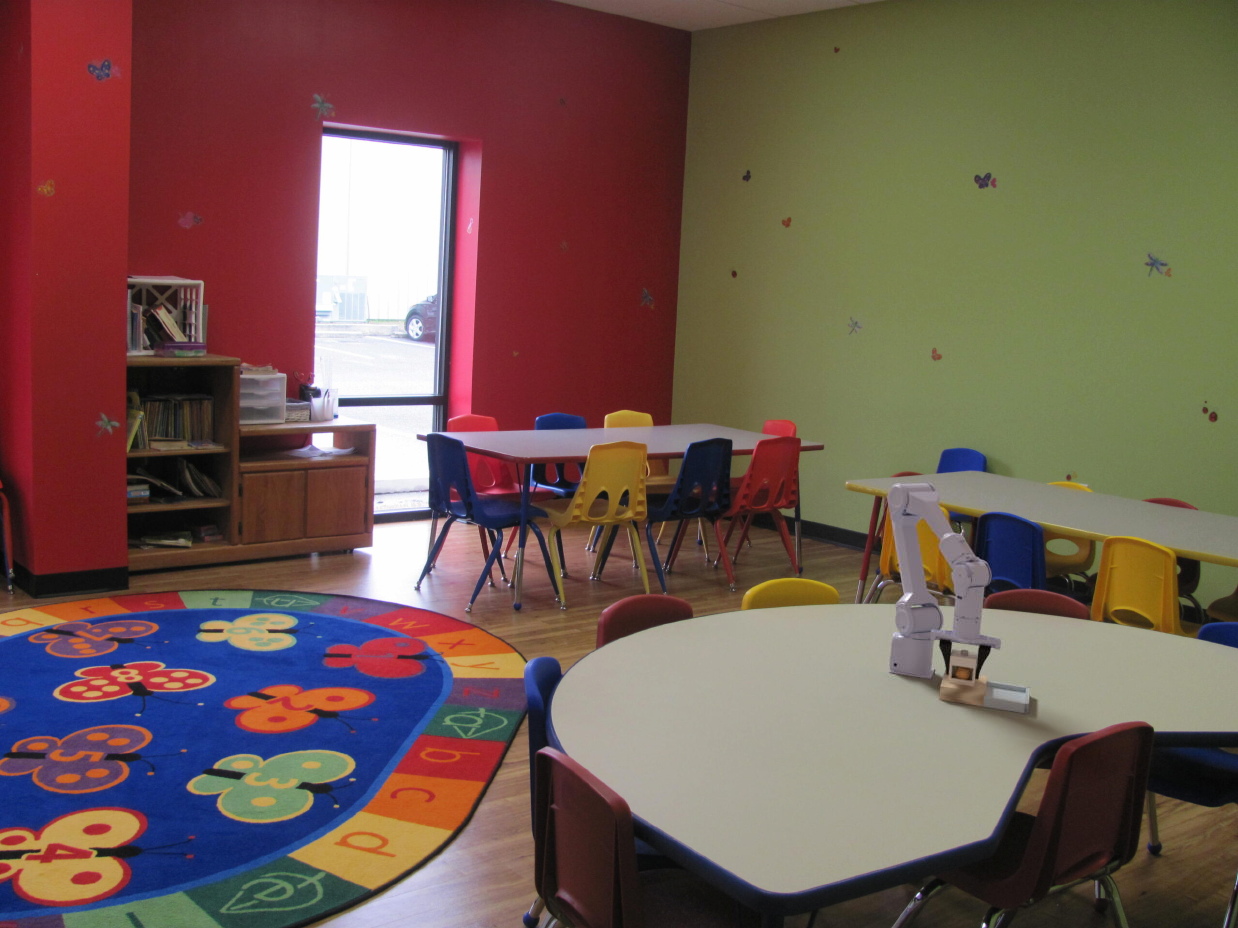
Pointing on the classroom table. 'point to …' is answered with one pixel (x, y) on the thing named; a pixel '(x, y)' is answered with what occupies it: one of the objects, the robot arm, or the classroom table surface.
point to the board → (963, 691)
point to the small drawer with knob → (963, 660)
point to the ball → (962, 673)
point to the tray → (1007, 697)
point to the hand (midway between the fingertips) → (962, 675)
